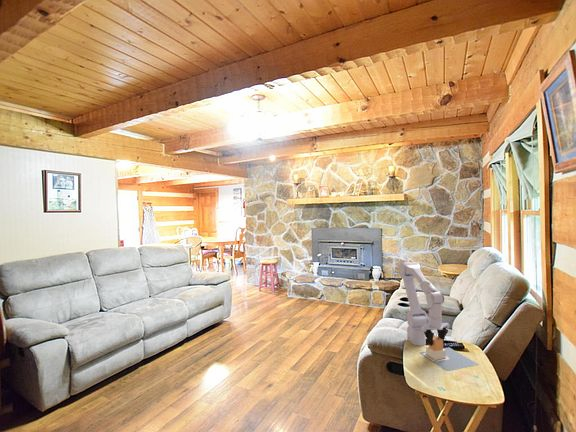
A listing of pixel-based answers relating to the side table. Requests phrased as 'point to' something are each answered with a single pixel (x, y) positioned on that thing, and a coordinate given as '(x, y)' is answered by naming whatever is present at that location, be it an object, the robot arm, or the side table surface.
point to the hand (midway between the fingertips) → (435, 343)
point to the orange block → (437, 343)
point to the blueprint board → (452, 360)
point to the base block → (435, 353)
